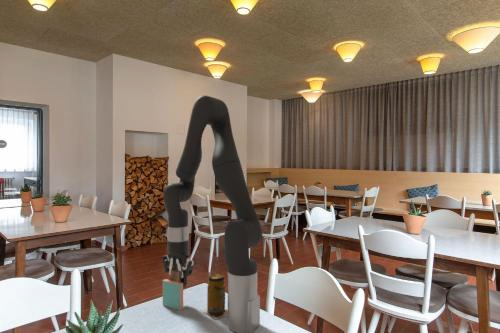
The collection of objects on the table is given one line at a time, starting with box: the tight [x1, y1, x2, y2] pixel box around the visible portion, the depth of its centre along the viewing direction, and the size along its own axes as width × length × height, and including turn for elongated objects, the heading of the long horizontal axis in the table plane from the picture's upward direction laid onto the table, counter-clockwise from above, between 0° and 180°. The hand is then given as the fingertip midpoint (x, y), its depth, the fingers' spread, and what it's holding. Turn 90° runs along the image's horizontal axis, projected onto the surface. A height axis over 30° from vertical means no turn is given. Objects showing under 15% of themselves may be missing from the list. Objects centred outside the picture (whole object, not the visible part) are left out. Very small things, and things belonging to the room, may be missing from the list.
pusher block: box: [169, 267, 187, 291], centre depth 116 cm, size 4×4×7 cm
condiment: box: [201, 273, 228, 320], centre depth 110 cm, size 7×8×12 cm
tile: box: [162, 278, 184, 311], centre depth 114 cm, size 8×2×9 cm, turn 63°
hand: (178, 285), depth 116 cm, fingers closed on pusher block, 4 cm apart
